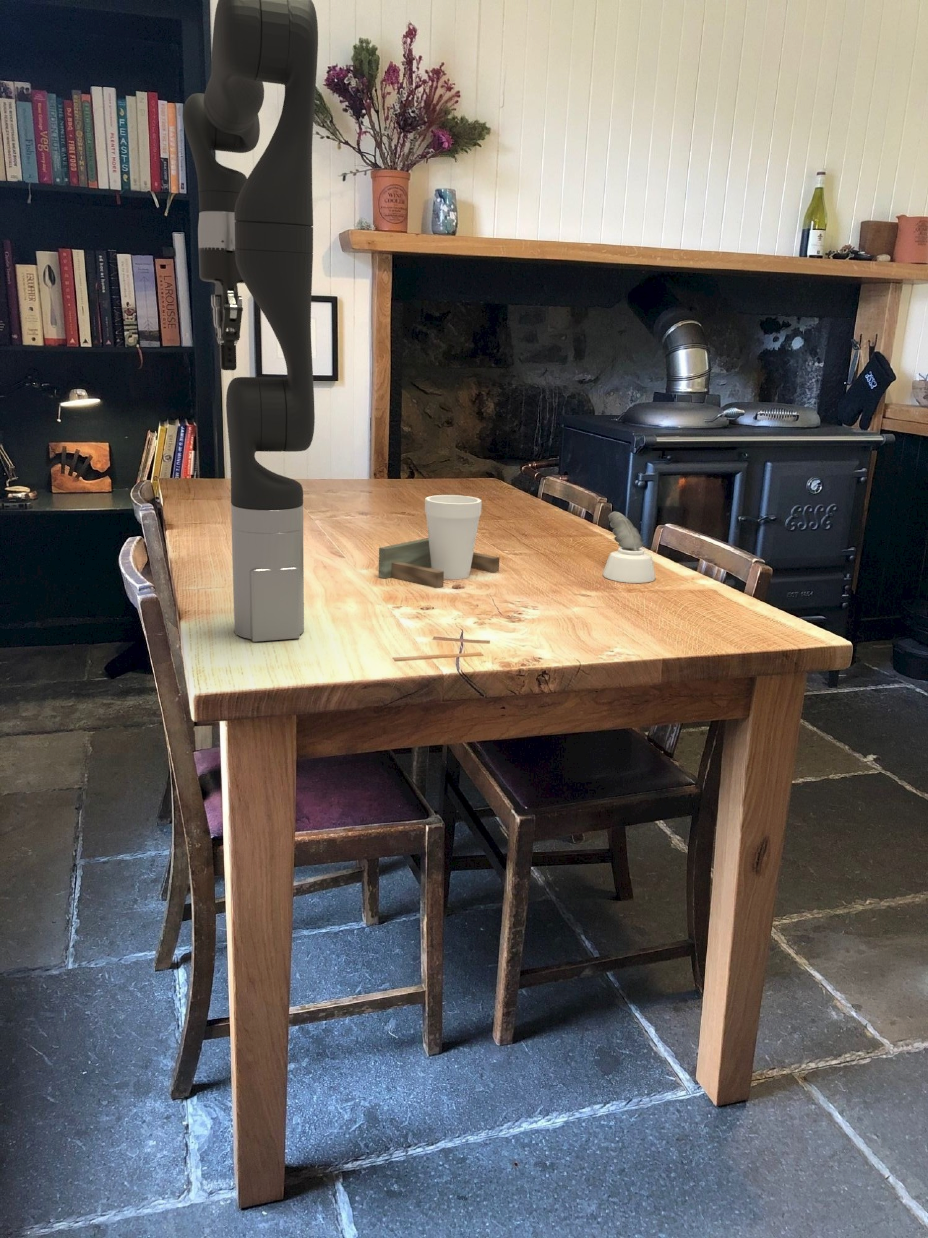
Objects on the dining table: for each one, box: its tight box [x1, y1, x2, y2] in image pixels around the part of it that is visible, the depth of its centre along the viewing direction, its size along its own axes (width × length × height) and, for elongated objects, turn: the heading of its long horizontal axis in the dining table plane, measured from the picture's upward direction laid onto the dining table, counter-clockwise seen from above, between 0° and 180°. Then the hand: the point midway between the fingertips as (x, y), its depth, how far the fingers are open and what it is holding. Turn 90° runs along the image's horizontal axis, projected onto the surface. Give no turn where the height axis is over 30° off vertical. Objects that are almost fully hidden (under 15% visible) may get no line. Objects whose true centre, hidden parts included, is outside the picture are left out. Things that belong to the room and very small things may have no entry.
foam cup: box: [424, 494, 483, 580], centre depth 166 cm, size 10×9×13 cm
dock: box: [378, 537, 501, 589], centre depth 168 cm, size 12×20×5 cm, turn 142°
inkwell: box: [602, 511, 657, 584], centre depth 174 cm, size 9×18×10 cm, turn 13°
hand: (228, 369), depth 148 cm, fingers closed
